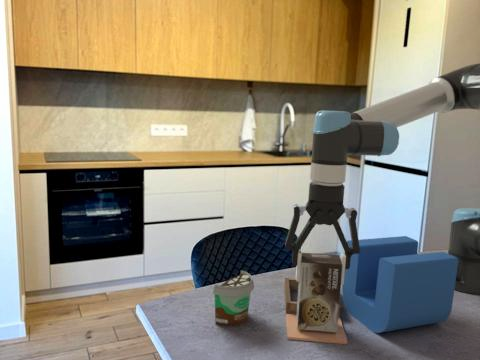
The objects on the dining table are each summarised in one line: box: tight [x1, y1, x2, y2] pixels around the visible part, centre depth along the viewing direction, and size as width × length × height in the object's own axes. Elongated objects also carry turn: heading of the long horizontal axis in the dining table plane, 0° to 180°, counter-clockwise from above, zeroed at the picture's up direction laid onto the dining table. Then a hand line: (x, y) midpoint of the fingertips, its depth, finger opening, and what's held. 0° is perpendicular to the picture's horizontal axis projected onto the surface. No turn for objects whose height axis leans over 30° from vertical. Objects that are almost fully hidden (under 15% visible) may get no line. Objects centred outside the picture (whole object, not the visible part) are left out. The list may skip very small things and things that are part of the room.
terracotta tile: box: [285, 313, 349, 345], centre depth 105 cm, size 13×11×1 cm
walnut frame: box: [283, 277, 341, 319], centre depth 119 cm, size 13×16×3 cm
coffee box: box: [296, 252, 342, 332], centre depth 104 cm, size 9×6×16 cm
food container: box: [212, 269, 255, 327], centre depth 107 cm, size 12×6×10 cm, turn 148°
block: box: [341, 235, 458, 334], centre depth 111 cm, size 18×18×18 cm
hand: (319, 280), depth 103 cm, fingers closed on coffee box, 9 cm apart
